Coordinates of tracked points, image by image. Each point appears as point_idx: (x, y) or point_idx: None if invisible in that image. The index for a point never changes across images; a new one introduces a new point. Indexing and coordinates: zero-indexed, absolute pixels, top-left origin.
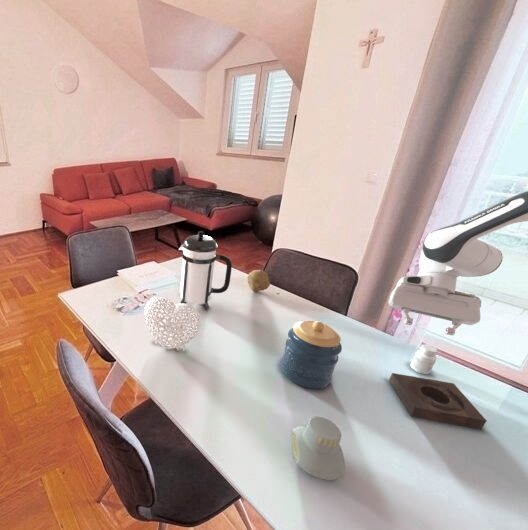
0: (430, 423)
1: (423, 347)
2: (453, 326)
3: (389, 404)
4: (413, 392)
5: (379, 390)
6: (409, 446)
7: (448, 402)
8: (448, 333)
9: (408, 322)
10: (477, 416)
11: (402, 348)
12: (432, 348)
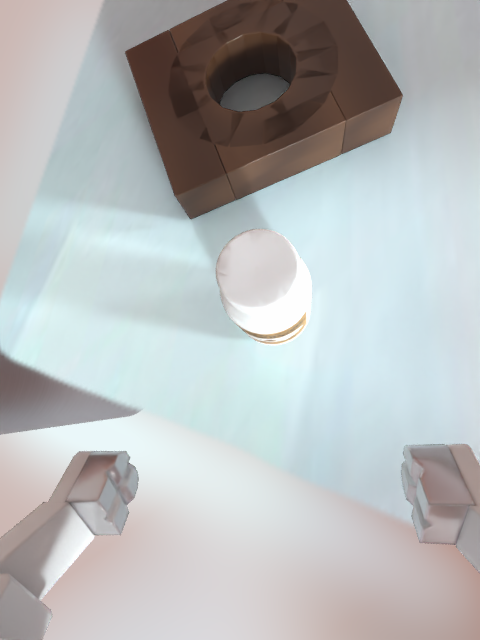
0: None
1: (292, 250)
2: (51, 555)
3: (379, 9)
4: (322, 25)
5: (417, 55)
6: None
7: (210, 95)
8: (119, 453)
9: (446, 446)
10: (144, 50)
11: (340, 471)
12: (242, 275)
